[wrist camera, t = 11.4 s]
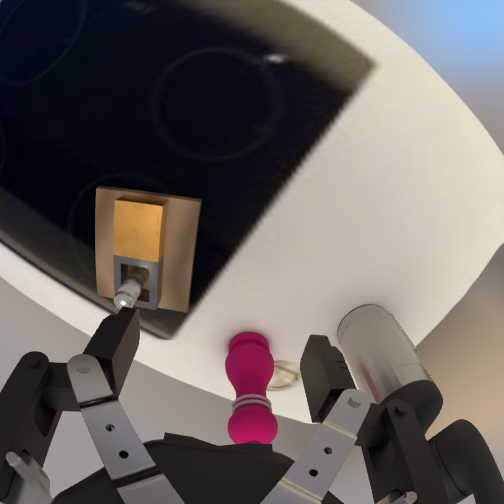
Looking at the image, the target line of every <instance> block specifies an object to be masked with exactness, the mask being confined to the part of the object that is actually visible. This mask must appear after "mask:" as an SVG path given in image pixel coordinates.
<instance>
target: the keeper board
mask: <svg viewBox="0 0 504 504" xmlns="http://www.w3.org/2000/svg"><path fill="white" fill-rule="evenodd" d="M122 195H131V196H139V197H147V198H154V199H161V200H169V202H168V211H167V221H166V232H165V245H164V258H163V274H162V295H161V301H160V303H159V305H158V307H159V308H164V309H170V310H175V311H181V312H188V308H189V300H190V290H191V281H192V272H193V263H194V255H195V247H196V239H197V231H198V224H199V216H200V209H201V202H202V199H196V198H189V197H182V196H175V195H168V194H161V193H154V192H146V191H139V190H131V189H123V188H115V187H106V186H100V187H98V188H96V214H95V252H96V277H97V293H98V295H100V296H104V297H109V298H113V299H114V297H115V294H114V260H113V241H114V207H115V200H116V199H117V198H119V197H121V196H122ZM134 267H135V266H133V265H128V275H129V274H130V273H131V271H132V270H133V268H134ZM147 269H148V271H149V278H148V280H147V282H146V284H145V285H144V287H143V289H145V290H150V268H147Z"/></svg>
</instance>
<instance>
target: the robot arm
mask: <svg viewBox="0 0 504 504" xmlns="http://www.w3.org/2000/svg"><path fill="white" fill-rule="evenodd" d="M139 339H140V326H139V310H138V309H135V308H130V307H125V306H123V307H122V308H121V310H120V311H119V313H118V315H117V316H116V315H112V314H111V315H109V316H108V317H106V318H105V319H103V321H102V322H101V324H100V325H99V328H98V329H97V330H96V332H95V334H94V335H93V337H92V338H91V340H90V342H89V343H88V345H87V347H86V348H85V350H84V352H83V354H79V355H76V356H74V357H72V358H71V359H70V360H69V361H68V363H53V362H49V359H48V357H47V356H46V355H45V354H43V353H41V352H36V351H33V352H29V353H27V354H25V355H24V356H23V357H22V358H21V359H20V361H19V363H18V364H17V366H16V367H15V369H14V370H13V372H12V374H11V375H10V377H9V379H8V380H7V382H6V384H5V385H4V387H3V389H2V391H1V392H0V504H344V503H343V502H341V501H340V500H339V499H338V498H336V497H335V496H334V495H333V494H332V493H330V492H329V491H328V490H329V488H330V486H331V485H332V483H333V481H334V480H335V478H336V476H337V475H338V473H339V471H340V469H341V468H342V466H343V464H344V462H345V461H346V459H347V457H348V455H349V453H350V451H351V449H352V447H353V445H357V446H361V448H362V452H363V456H364V460H365V464H366V468H367V473H368V477H369V481H370V485H371V489H372V494H373V499H374V503H375V504H457V503H459V502H460V501H462V500H463V499H465V498H466V497H468V496H469V495H471V494H474V498H475V502H476V504H504V481H503V478H502V476H501V474H500V471H499V469H498V467H497V464H496V463H495V460H494V458H493V456H492V454H491V452H490V450H489V447H488V446H487V444H486V442H485V440H484V438H483V437H482V435H481V434H480V432H479V431H478V430H477V428H476V427H475V426H474V425H473V424H472V423H470V422H469V421H467V420H464V419H460V420H457V421H455V422H453V423H452V424H450V425H449V426H448V427H446V428H445V429H443V430H442V431H441V432H439V433H438V434H436V435H435V436H434V437H432V438H431V439H429V440H428V441H427V440H426V438H425V433H426V431H427V430H428V428H429V427H430V426H431V424H432V423H433V421H434V420H435V419H436V417H437V416H438V414H439V413H440V410H441V408H442V405H443V398H442V395H441V393H440V391H439V389H438V388H437V386H436V384H435V383H434V381H433V380H432V378H431V377H430V375H429V374H428V372H427V370H426V369H425V368H424V366H423V365H422V363H421V362H420V360H419V359H418V357H417V355H416V352H417V349H416V347H415V346H414V344H413V343H412V341H411V340H410V339H409V337H408V336H407V334H406V333H405V332H404V330H403V329H402V327H401V326H400V325H399V323H398V322H397V320H396V319H395V318H394V316H393V315H390V314H388V313H387V312H386V311H385V310H384V309H383V308H382V307H380V306H377V305H365V306H362V307H359V308H357V309H355V310H353V311H352V312H350V313H349V314H348V315H347V316H346V317H345V318H344V319H343V321H342V322H341V324H340V326H339V329H338V340H339V342H340V345H341V347H342V349H343V352H344V354H345V357H346V359H347V361H348V364H349V366H350V368H351V371H352V373H353V376H354V378H355V380H356V383H357V385H358V388H359V390H360V391H359V390H357V389H356V386H355V384H354V381H353V379H352V376H351V374H350V371H349V369H348V367H347V364H346V363H345V359H344V357H343V354H342V353H341V352H340V351H339V350H338V349H337V348H336V347H334V346H331V345H330V342H329V339H328V337H327V336H324V335H310V337H309V339H308V342H307V344H306V347H305V350H304V352H303V355H302V358H301V362H300V371H301V376H302V380H303V384H304V389H305V393H306V397H307V402H308V406H309V411H310V415H311V419H312V423H321V426H320V427H319V429H318V430H317V432H316V433H315V435H314V436H313V438H312V439H311V440H310V442H309V443H308V445H307V446H306V447H305V449H304V450H303V451H302V453H301V454H300V456H299V457H298V458H297V460H296V461H294V460H293V459H291V458H289V457H287V456H286V455H283V454H281V453H278V452H275V451H273V450H272V444H261V443H240V444H233V445H224V446H217V445H213V444H211V443H208V442H205V441H202V440H199V439H196V438H193V437H189V436H183V435H177V434H171V433H166V432H165V435H164V439H159V440H151V441H147V442H144V443H142V442H141V440H140V439H139V437H138V435H137V434H136V432H135V430H134V428H133V426H132V425H131V423H130V421H129V419H128V417H127V415H126V414H125V411H124V410H123V407H122V406H121V404H120V402H119V400H118V397H119V395H120V392H121V389H122V387H123V384H124V381H125V379H126V376H127V374H128V371H129V368H130V366H131V363H132V361H133V358H134V356H135V353H136V351H137V348H138V345H139ZM63 411H78V412H79V411H80V412H81V413H82V415H83V418H84V421H85V423H86V426H87V428H88V431H89V433H90V435H91V438H92V440H93V442H94V445H95V447H96V449H97V451H98V453H99V456H100V458H101V460H102V462H103V464H104V467H103V468H101V469H100V470H98V471H97V472H95V473H93V474H91V475H90V476H88V477H87V478H85V479H83V480H82V481H80V482H78V483H76V484H75V485H73V486H71V487H69V488H68V489H66V490H64V491H62V492H61V493H59V494H58V495H57V496H56V497H55V498H54V499H52V498H51V496H50V491H49V489H50V481H49V478H48V476H47V475H46V473H45V472H44V471H43V469H42V468H43V464H44V461H45V458H46V455H47V452H48V449H49V446H50V443H51V441H52V438H53V435H54V432H55V430H56V427H57V424H58V422H59V419H60V417H61V414H62V412H63Z"/></svg>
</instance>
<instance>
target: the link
mask: <svg viewBox="0 0 504 504" xmlns="http://www.w3.org/2000/svg"><path fill="white" fill-rule="evenodd" d="M168 202H169V200H161V199H154V198H147V197H139V196H131V195H122V196H121V197H119V198H117V199H116V200H115V207H114V241H113V260H114V294H116V293H117V291H118V290H119V288H120V287H121V285H122V284H123V283H124V281H125V280H126V278H127V277H128V265H133V266H139V267H145V268H150V290H145V289H142V291H141V293H140V294H139V296H138V298H137V300H136V302H135V303H134V305H133V306H137V307H142V308H148V309H153V310H157V308H158V305H159V303H160V301H161V295H162V274H163V258H164V245H165V232H166V221H167V211H168Z"/></svg>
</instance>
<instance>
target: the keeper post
mask: <svg viewBox="0 0 504 504" xmlns="http://www.w3.org/2000/svg"><path fill="white" fill-rule="evenodd" d="M148 278H149V271H148V269H147V268H145V267H139V266H135V267H134V268H133V270H132V271H131V273H130V274H129V275H128V277H127V278H126V280H125V281H124V283H123V284H122V285H121V287H120V288H119V290H118V291H117V293H116V294H115V297H114V302H115V305H116V307H117V308H118V309H120V310H121V308H122V307H123V306H125V307H130V308H132V307H133V305H134V303H135V302H136V300H137V298H138V296H139V294H140V293H141V291H142V289H143V287H144V285H145V284H146V282H147V280H148Z"/></svg>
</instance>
